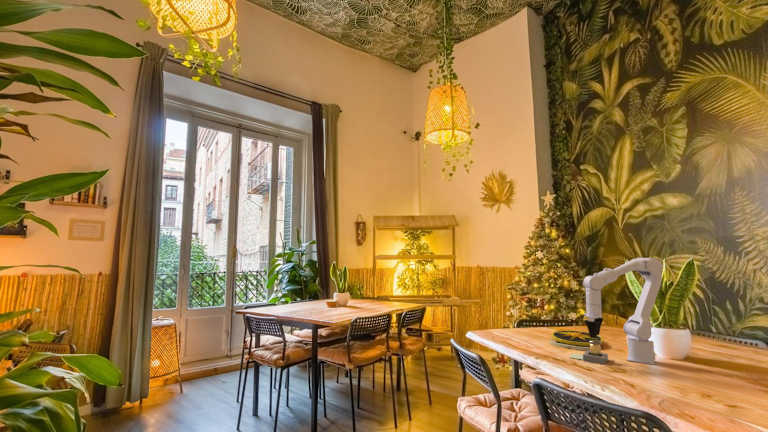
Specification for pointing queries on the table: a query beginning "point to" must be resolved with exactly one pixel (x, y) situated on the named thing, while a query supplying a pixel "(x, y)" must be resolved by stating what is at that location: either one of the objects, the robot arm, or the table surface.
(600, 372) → the table surface
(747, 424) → the table surface
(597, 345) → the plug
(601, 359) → the gray block
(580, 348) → the wall ornament
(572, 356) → the mat
